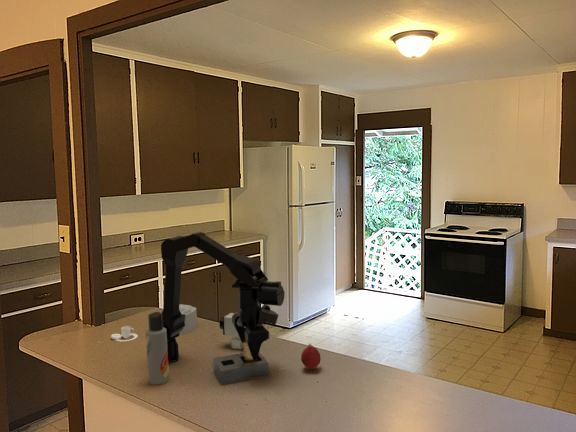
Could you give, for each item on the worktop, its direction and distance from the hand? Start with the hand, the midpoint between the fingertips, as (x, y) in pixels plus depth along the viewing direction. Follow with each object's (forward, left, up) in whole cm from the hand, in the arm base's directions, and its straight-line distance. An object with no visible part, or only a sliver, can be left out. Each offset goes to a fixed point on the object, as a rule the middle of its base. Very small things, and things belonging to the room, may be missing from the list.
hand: (250, 353), depth 146 cm
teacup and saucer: (-34, +49, -6) cm, 60 cm away
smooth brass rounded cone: (0, 0, -6) cm, 6 cm away
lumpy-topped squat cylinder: (-14, +46, -6) cm, 49 cm away
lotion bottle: (-26, +5, -6) cm, 27 cm away
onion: (+17, -6, -6) cm, 19 cm away
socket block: (-3, 0, -6) cm, 6 cm away
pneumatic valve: (+2, +20, -6) cm, 21 cm away
